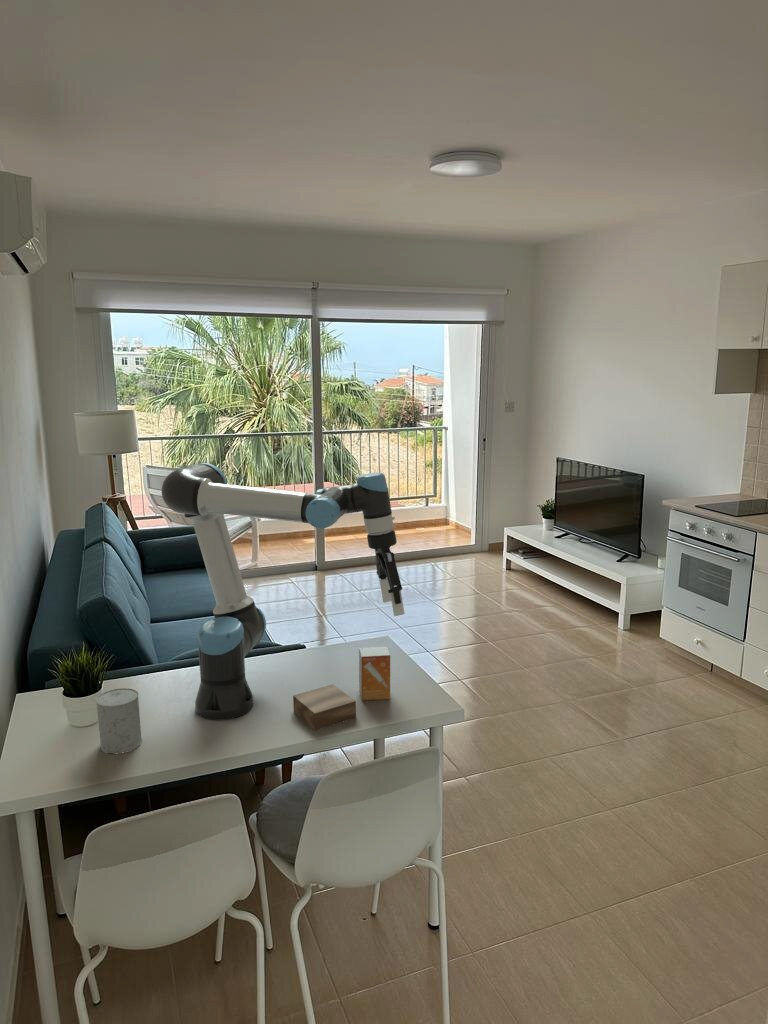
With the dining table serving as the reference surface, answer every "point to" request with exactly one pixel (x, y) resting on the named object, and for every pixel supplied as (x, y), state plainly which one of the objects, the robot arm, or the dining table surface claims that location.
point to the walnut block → (324, 706)
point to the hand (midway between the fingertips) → (393, 608)
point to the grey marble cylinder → (119, 720)
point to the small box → (374, 673)
